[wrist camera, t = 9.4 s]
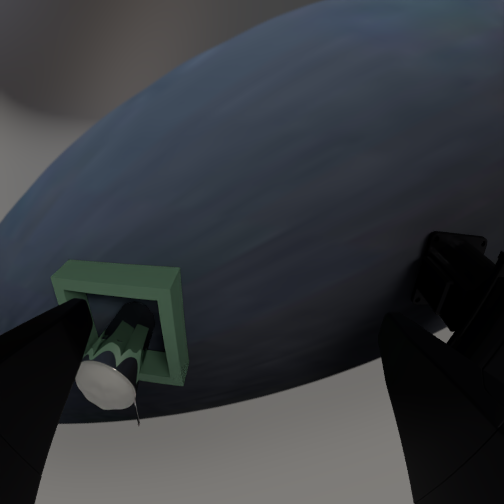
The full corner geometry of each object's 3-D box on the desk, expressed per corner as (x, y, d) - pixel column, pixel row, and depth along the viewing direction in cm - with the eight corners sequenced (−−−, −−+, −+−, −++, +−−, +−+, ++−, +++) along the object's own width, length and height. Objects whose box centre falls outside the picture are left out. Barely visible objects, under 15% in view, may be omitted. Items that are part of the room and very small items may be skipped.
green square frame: (180, 267, 22) (170, 289, 20) (189, 362, 27) (183, 386, 24) (68, 259, 22) (50, 277, 20) (94, 348, 27) (82, 368, 24)
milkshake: (166, 346, 26) (136, 439, 17) (112, 325, 25) (66, 409, 16) (177, 309, 24) (143, 408, 15) (117, 286, 23) (60, 373, 14)
